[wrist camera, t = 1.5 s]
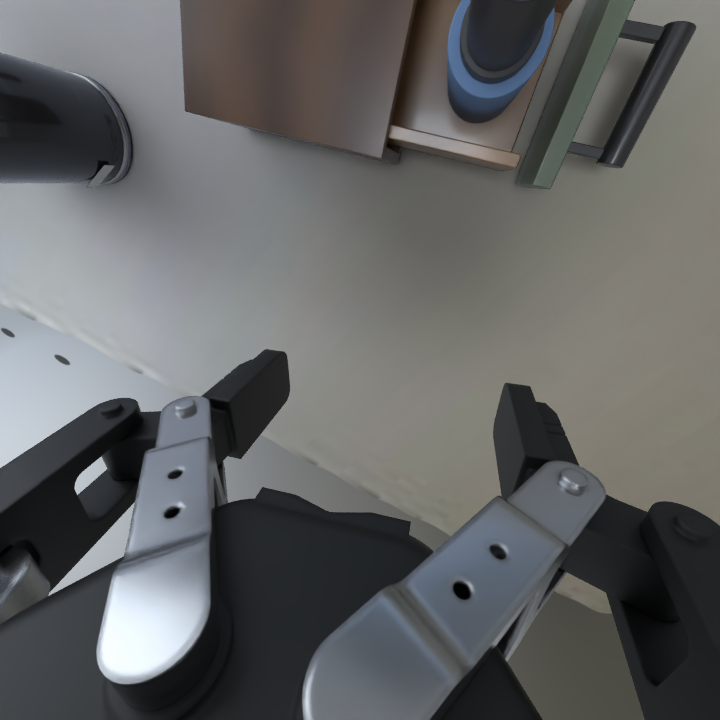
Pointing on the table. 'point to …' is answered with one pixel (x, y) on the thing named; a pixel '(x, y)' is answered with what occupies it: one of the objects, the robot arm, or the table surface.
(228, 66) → the cabinet
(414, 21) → the drawer
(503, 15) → the black and blue cylinder
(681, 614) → the robot arm
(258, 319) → the table surface
